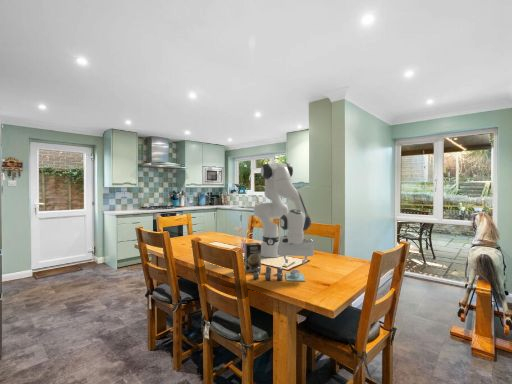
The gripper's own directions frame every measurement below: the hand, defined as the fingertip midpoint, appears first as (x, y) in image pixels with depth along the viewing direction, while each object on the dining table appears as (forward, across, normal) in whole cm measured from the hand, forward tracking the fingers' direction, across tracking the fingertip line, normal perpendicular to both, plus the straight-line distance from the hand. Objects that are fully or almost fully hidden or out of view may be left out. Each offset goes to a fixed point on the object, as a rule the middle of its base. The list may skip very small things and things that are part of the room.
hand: (295, 263), depth 148 cm
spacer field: (+8, +15, +1) cm, 17 cm away
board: (+8, 0, +1) cm, 8 cm away
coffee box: (+8, +25, -9) cm, 28 cm away
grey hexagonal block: (+7, 0, +1) cm, 7 cm away
